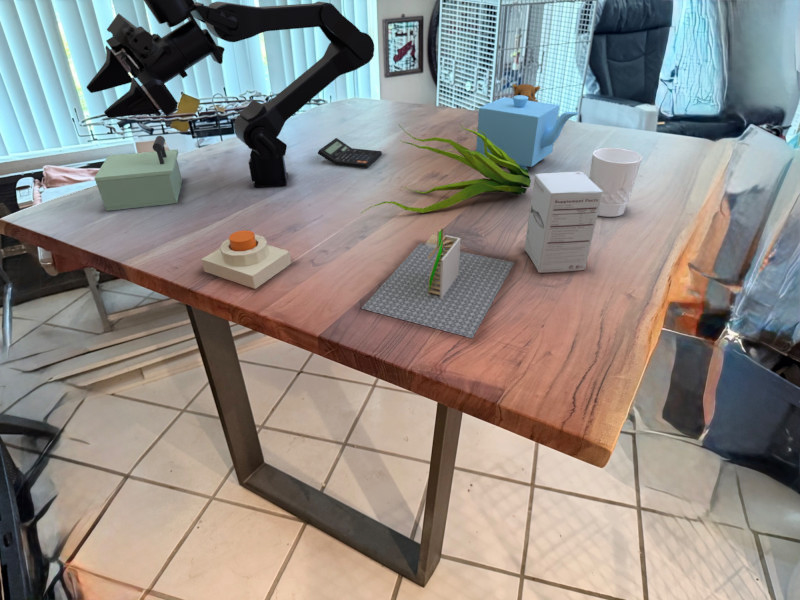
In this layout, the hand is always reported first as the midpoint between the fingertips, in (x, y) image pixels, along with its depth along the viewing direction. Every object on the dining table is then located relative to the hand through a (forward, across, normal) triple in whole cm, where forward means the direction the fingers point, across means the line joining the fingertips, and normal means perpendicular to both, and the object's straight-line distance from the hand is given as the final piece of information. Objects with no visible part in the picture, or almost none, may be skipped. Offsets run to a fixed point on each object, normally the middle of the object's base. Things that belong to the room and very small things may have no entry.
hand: (97, 102), depth 84 cm
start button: (-4, +36, +10) cm, 37 cm away
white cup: (-59, +58, +32) cm, 89 cm away
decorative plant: (-38, +40, +28) cm, 62 cm away
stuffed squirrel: (-73, +21, +49) cm, 91 cm away
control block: (-3, +36, +13) cm, 39 cm away
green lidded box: (+4, -2, +20) cm, 21 cm away
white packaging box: (-39, +63, +22) cm, 78 cm away
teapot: (-63, +33, +41) cm, 82 cm away
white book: (-23, +58, +16) cm, 64 cm away
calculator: (-35, +7, +36) cm, 51 cm away
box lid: (+2, -3, +15) cm, 16 cm away
